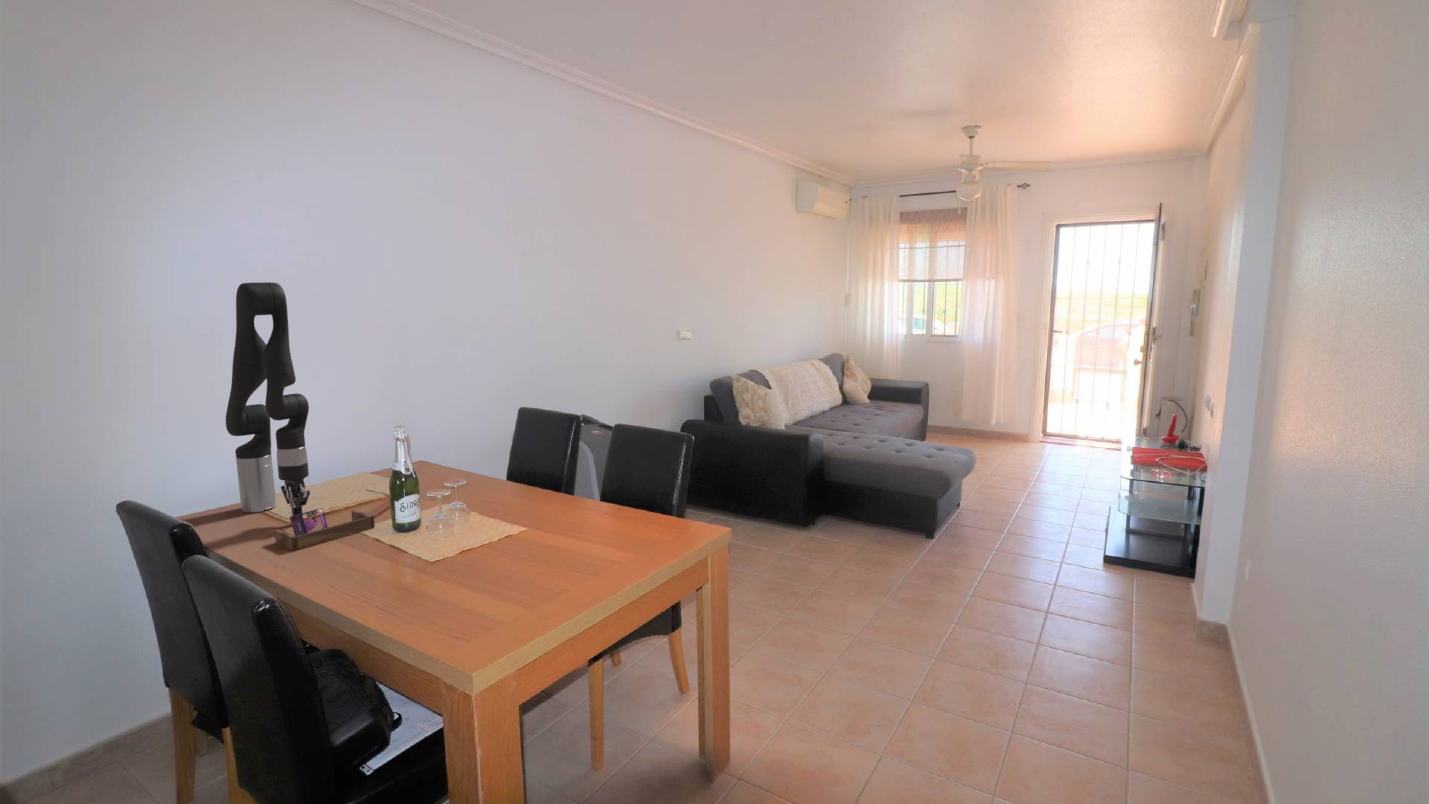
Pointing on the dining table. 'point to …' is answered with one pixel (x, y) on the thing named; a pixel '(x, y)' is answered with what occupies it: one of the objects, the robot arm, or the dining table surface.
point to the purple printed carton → (307, 522)
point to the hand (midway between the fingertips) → (297, 518)
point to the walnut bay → (326, 532)
